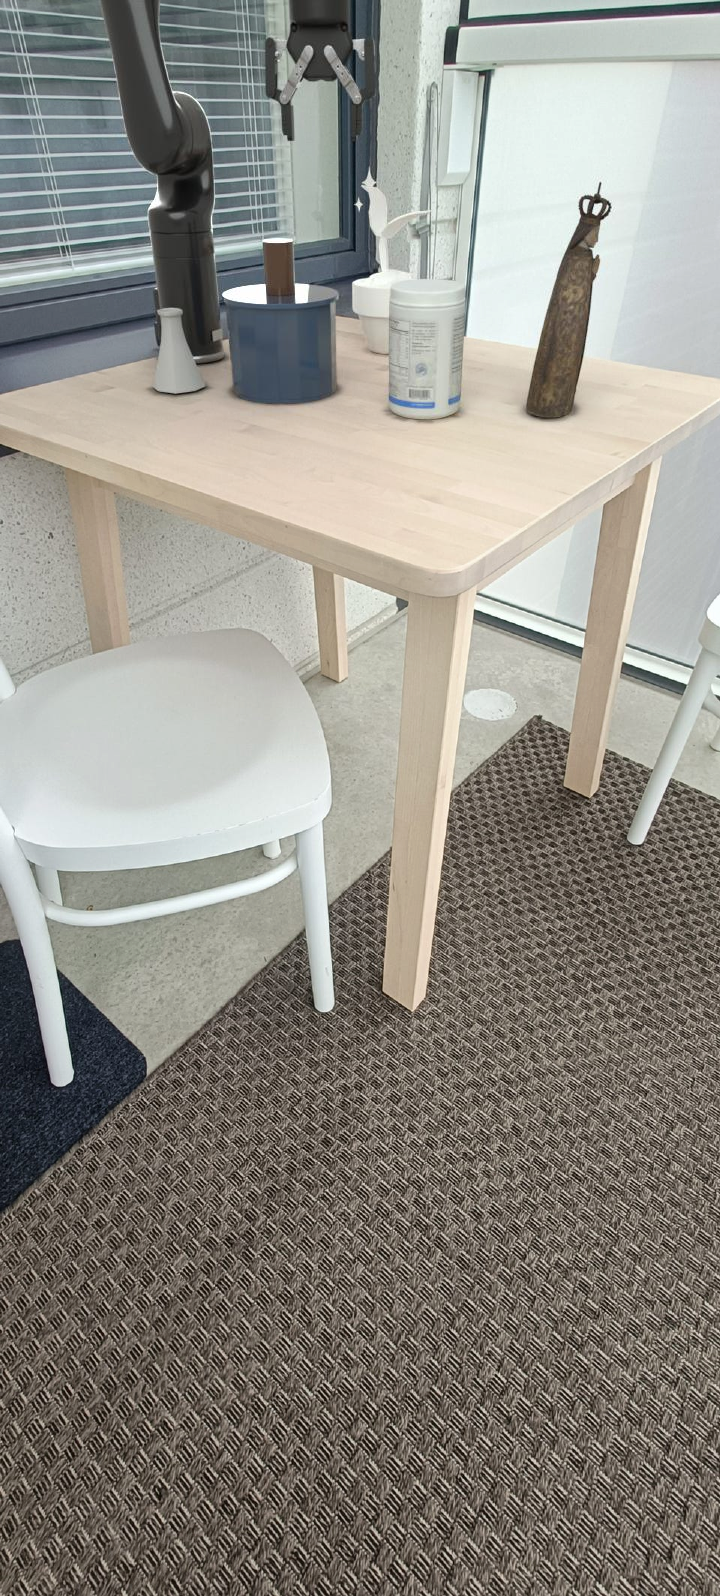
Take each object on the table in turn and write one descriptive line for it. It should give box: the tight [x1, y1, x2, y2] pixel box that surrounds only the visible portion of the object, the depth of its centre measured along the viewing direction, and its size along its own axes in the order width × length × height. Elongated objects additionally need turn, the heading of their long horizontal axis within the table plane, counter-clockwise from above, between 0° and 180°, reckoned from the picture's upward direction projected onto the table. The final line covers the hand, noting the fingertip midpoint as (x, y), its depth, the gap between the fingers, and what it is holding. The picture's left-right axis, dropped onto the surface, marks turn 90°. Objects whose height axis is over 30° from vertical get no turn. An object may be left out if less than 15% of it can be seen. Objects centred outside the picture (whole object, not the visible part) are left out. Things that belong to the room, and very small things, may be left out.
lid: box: [221, 238, 340, 309], centre depth 116 cm, size 16×16×7 cm
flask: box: [151, 308, 207, 394], centre depth 122 cm, size 7×7×10 cm
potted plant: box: [351, 166, 432, 355], centre depth 136 cm, size 13×12×25 cm
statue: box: [525, 181, 612, 419], centre depth 109 cm, size 9×8×25 cm
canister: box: [225, 301, 338, 405], centre depth 121 cm, size 15×15×12 cm
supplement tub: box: [388, 278, 467, 420], centre depth 112 cm, size 10×10×15 cm
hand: (322, 140), depth 116 cm, fingers open, 8 cm apart
